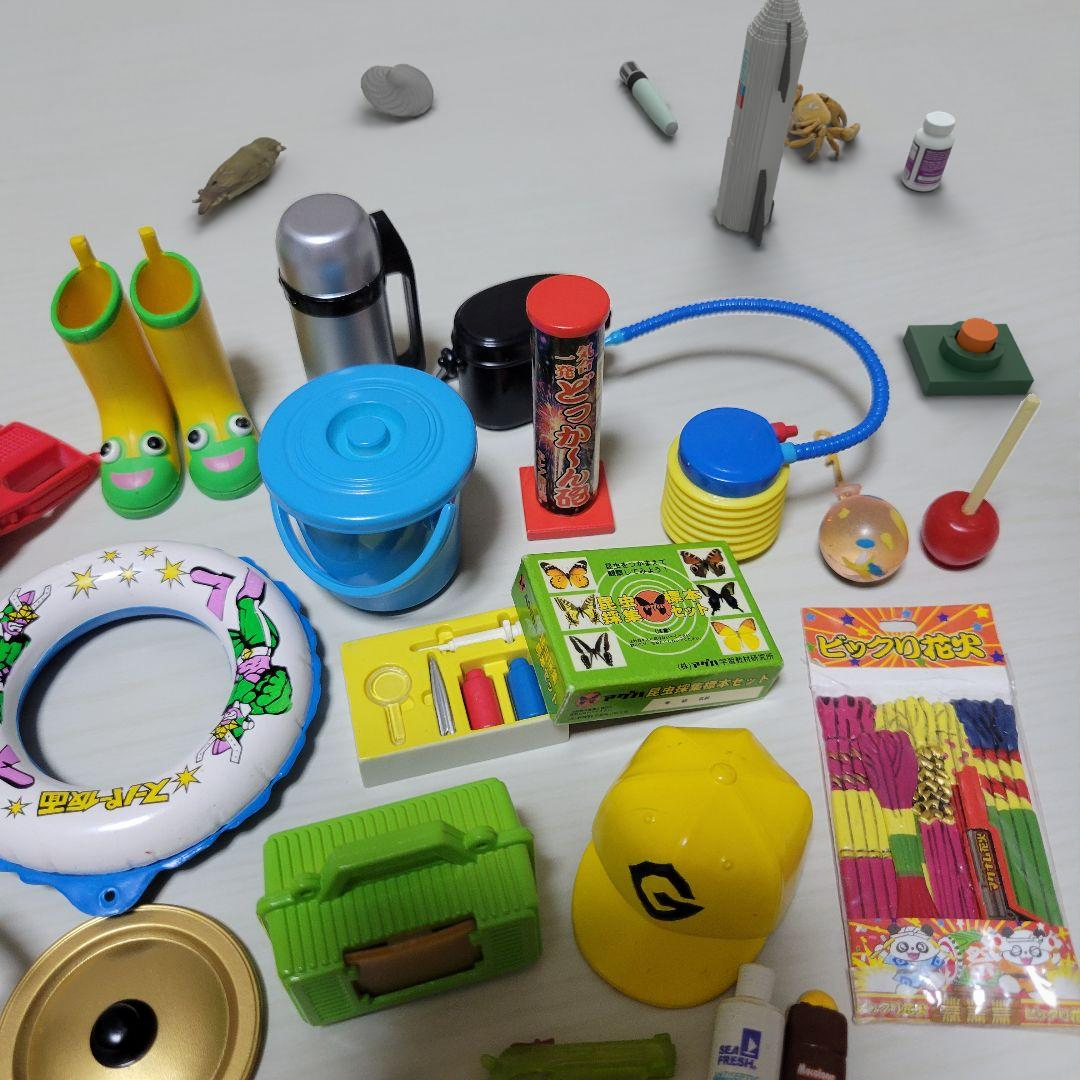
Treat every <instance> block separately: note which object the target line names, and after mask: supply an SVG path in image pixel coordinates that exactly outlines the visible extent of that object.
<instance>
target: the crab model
mask: <svg viewBox="0 0 1080 1080" xmlns="http://www.w3.org/2000/svg"><path fill="white" fill-rule="evenodd" d="M803 91H804V85H803V84H802V83H799V82H798V84H797V89H796V94H795V98H794V103H793V108H792V113H791V117H790V122H789V127H788V131H787V135H788V134H789V133H790V134H791V135H795V136H799V137H802V138H801V139H796V140H791V141H790V138H789V137H788V136H786V141H785V145H784V146H786V147H788V148H790V149H794V148H795V149H796V148H798V147H803V146H805V145H807V144H809V143H810V142H812V141H813V140H815V139H816V140H815V143H814V147H813V149H814V151H811V153H809V155H808V157H807V158H806V161H811V160H813V159H814V158H815V157H816V156H818V154H819V152H820V151H821V150H822V148H823V145H824V140H825V138H826V141H827V143H828V145H829V146H830V147H831V149H832V151H833V152H835V153H834V157H835V158H838V157H839V156H840V153H841V151H840V146H839V144H838V143H837V141H835V140H838V141H841V142H849V141H852V140H853V139H855V138H856V137H857V135H858V134H859V132H860V130H861V123H858V122H856V123H853V124H852V125H851V126H849V127H847V124H848V117H847V113H846V111H845V110H844V108H843V106H842V105H841V104H840V103H839V102H838V101H837V100H836V99H834V98H833V97H830V96H829V95H828V94H826V93H824V92H817V93H807V94H804V95H803ZM829 123H830V125H832V127H826V126H828V125H829ZM803 137H804V138H803Z"/></svg>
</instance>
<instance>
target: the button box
mask: <svg viewBox="0 0 1080 1080" xmlns="http://www.w3.org/2000/svg"><path fill="white" fill-rule="evenodd" d="M965 321H966V320H958V321H956V322H954V323H953V324H909V325H908V326H907V328H906V330H905V334H904V336H903V342H904V346H905V348H906V350H907V352H908V356H909V358H910V360H911V363H912V366H913V369H914V372H915V374H916V376H917V380H918V382H919V385H920V387H921V391H922V392H923V395H924V396H928V397H929V396H930V397H931V396H932V397H933V396H985V395H986V396H988V395H989V396H990V395H1027V394H1028V392H1029V391H1030V389H1031V387H1032V385H1034V382H1035V379H1034V377H1033V375H1032V373H1031V371H1030V368H1029V367H1028V364H1027V362H1026V360H1025V358H1024V356H1023V354H1022V352H1021V350H1020V348H1019V346H1018V344H1017V341H1016V340H1015V338H1014V336H1013V334H1012V332H1011V329H1010V328H1009V326H1008V323H993V324H994V325H995V326H996V327H997V329H998V336H997V338H996V340H995V342H994V344H993V346H992V348H991V350H990V351H989V352H987V353H973V352H970V351H967V350H964V349H963V348H962V347H960V346H959V345H958V344H957V341H956V339H957V336H958V334H959V331H960V329H961V327H962V324H963V323H964V322H965Z"/></svg>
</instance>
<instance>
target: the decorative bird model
mask: <svg viewBox="0 0 1080 1080" xmlns="http://www.w3.org/2000/svg"><path fill="white" fill-rule="evenodd" d="M286 150H287V147H286V146H285V145H282V142H280V141H278V140H277V139H274V138H271V137H268V136H267V137H266V136H261V137H258V138H256V139H253V141H251V142H250V143H249V144H246V145H243V146H241V147H240V148H239V149H238V150H237V151H236V152H235V153H234V154H232V155H230V157H229V158H227V159H226V160H225V161H224V162H223V163H221V164H220V165H219V166H218V167H217V168H216V170H214V172H213V173H212V174H211V176H210V177H209V179H208V180H207V182H206V185H205V186H204V188H199V189H198V191H197V194H198V198H196V199H192V200H191V203H193V204H199V206H198V208H197V209H198V211H197V214H198V216H206V215H208V213H209V212H210V211H211V210H212V209H214V208H216V206H217V205H218V204H220V203H221V202H222V201H223V200H227V201H231V200H232V199H233V198H235V197H238V196H239V195H241V194H242V193H244V192H246V191H247V190H250V189H251V188H252V187H254V186H255V185H257V184H258V183H260V182H261V181H264V180H265V179H266V178H267V177H268V176H269V175H270V174H271V173H272V171H273V167H274V166H275V164H276V161H277V159H278V158H279V156H280V154H281V152H284V151H286Z"/></svg>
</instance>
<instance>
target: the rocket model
mask: <svg viewBox="0 0 1080 1080" xmlns="http://www.w3.org/2000/svg"><path fill="white" fill-rule="evenodd" d="M806 25H807V22H806V21H805V19H804V16H803V11H802V10H801V6H800V2H799V0H766V1H765V2H764V5H763V6H762V7H760V10H759V11H758V13H757V14H756V15H755V16H754V17H753V19H752V20H751V22H750V23H749V24H748V25H747V28H746V34H745V42H744V47H743V54H742V60H741V66H740V70H739V71H740V73H739V78H738V84H737V90H736V95H735V103H734V109H733V115H732V121H731V126H730V133H729V136H727V140H726V145H725V152H724V158H723V164H722V170H721V176H720V183H719V189H718V196H717V201H716V207H715V214H714V217H715V219H716V221H717V223H718V224H719V226H722V225H723V227H725V228H726V229H728V230H730V231H733V232H738V233H743V232H744V233H748V235H749V237H750V239H753V240H754V242H755V243H756V245H757V248H761V245H762V240H763V235H764V231H765V230H764V229H765V227H766V226H767V225H768V224H769V223H771V222H772V218H773V212H774V208H775V200H774V196H775V192H776V187H777V183H778V177H779V173H780V168H781V163H782V159H783V155H784V150H785V146H786V145H785V141H786V137H788V134H787V131H788V127H789V122H790V117H791V113H792V108H793V103H794V98H795V94H796V89H797V84H798V83H799V79H800V75H801V70H802V66H803V65H802V64H803V60H804V57H805V51H806V47H807V42H808V37H809V30H808V29H807V27H806Z"/></svg>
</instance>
